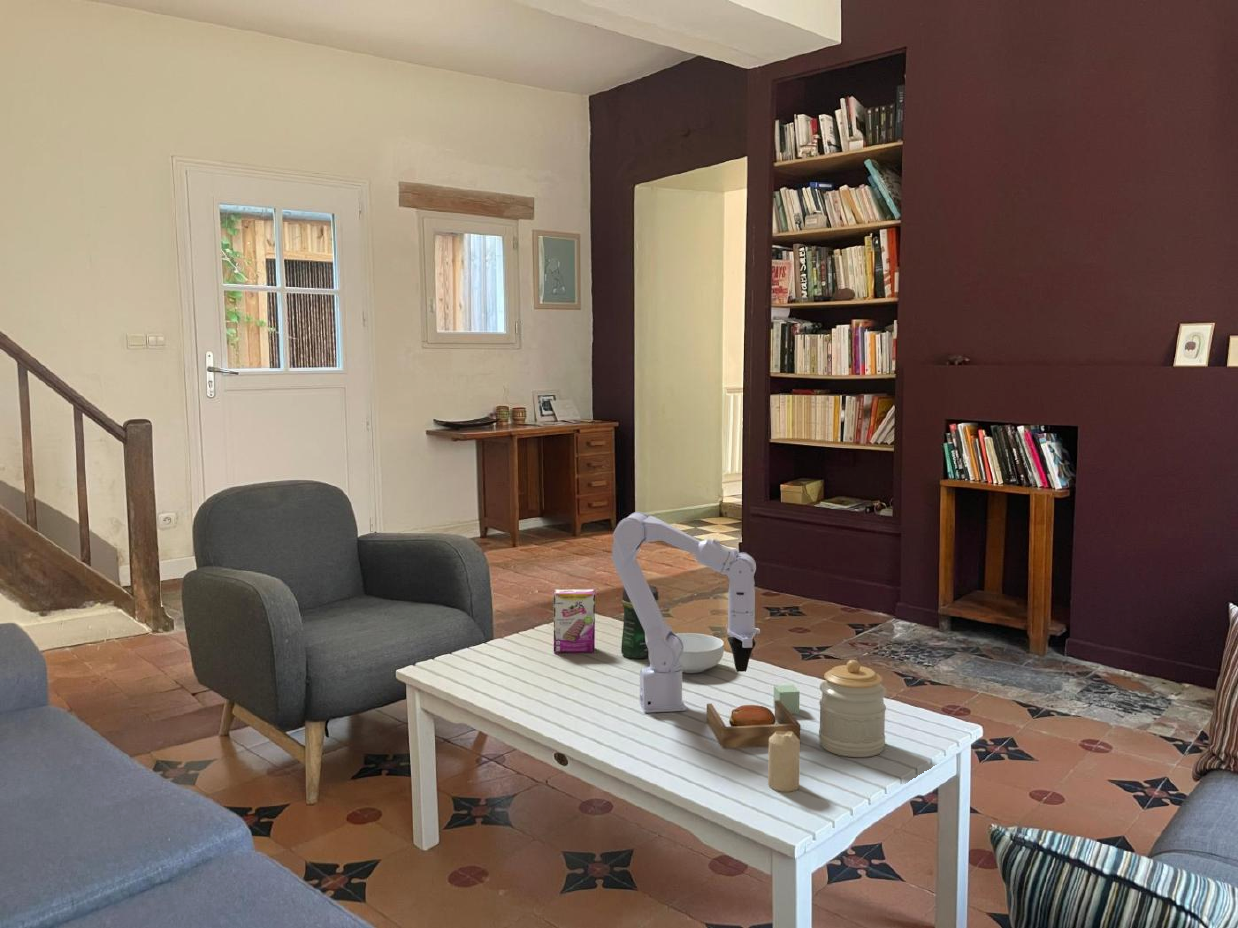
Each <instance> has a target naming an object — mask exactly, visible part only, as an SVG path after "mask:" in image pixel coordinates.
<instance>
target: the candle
mask: <svg viewBox="0 0 1238 928" xmlns="http://www.w3.org/2000/svg"><path fill="white" fill-rule="evenodd" d="M800 745H801V739H800V740H799V739H798V738H797V737H796V736H795V734H794V733H793V732H791V731H788V732H782V731H778V732H777V731H776V732H775V733H774V734H773V735H772V736H771V737H770V738H769V746H768V769H767V770H768V771H767V772H768V773H767V774H768V779H767V780H768V781H767V782H768V783H767V785H768V786H769V788H770V789H772V790H774V791H776V792H777V791H778V792H781V793H782V792H783V793H784V792H785V793H789V792H794V791H796V790H798V789H799V787H800V758H801V757H800V750H801V749H800V748H801V747H800Z"/></svg>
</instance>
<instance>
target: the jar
mask: <svg viewBox="0 0 1238 928" xmlns="http://www.w3.org/2000/svg"><path fill="white" fill-rule="evenodd" d="M823 677H824V679H825V680H824V681H822V682H821V683H820V684H819V690H820V691H821V699H820V700H819V702H818V703H819V730H818V738H819V744H820V746H821V747H822V748H823V749H825V750H826V751H827V752H830V753H832V754H835V755H839V756H842V757H848V758H849V757H850V758H868V757H869V758H870V757H873V756H877V755H879V754H880V753H882V752H883V751H884V747H885V744H886V735H885V729H886V728H885V727H886V725H885V723H886V711H887V707H886V704H885V703H884V697H885V696H887V689H886V688H885V687H884V686H883V685H882V682H883V678H882V676H881V675H880V674H878V673H877V672H875V670H873V669H871V668H869V667H866V666H862V665H861V664H860V662H859V660H855V659H850V660H848V661H847V662H846V664H845V665H844V664H843V665H838V666H833V668H831V669H830V670H829V669H828V670H827V671H826V672H825V673H824V675H823Z"/></svg>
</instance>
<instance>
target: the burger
mask: <svg viewBox="0 0 1238 928" xmlns="http://www.w3.org/2000/svg"><path fill="white" fill-rule="evenodd" d="M776 722H777V721H776V720H775V713H773V711H772V710H771V709H769V708H768V707H765V706H763V705H755V704H747V705H745V704H744V705H741V706H738V707H736V708H735V709H732V711H731V715H730V718H729V720H728V723H729V725H730V727H734V726H753V725H773V724H776Z"/></svg>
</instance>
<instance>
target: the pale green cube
mask: <svg viewBox="0 0 1238 928" xmlns="http://www.w3.org/2000/svg"><path fill="white" fill-rule="evenodd" d="M775 700H780V702H781V703H782V704H783V705H784V706H785V707H786V709H787V710H788V711H789V712H790V713H791V714H792V715H793V714H794V715H796V714H800V690H799V689H798V688H797V687H796V686H795V685H794V684H785V685H782V684H781V685H773V709H775Z"/></svg>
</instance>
